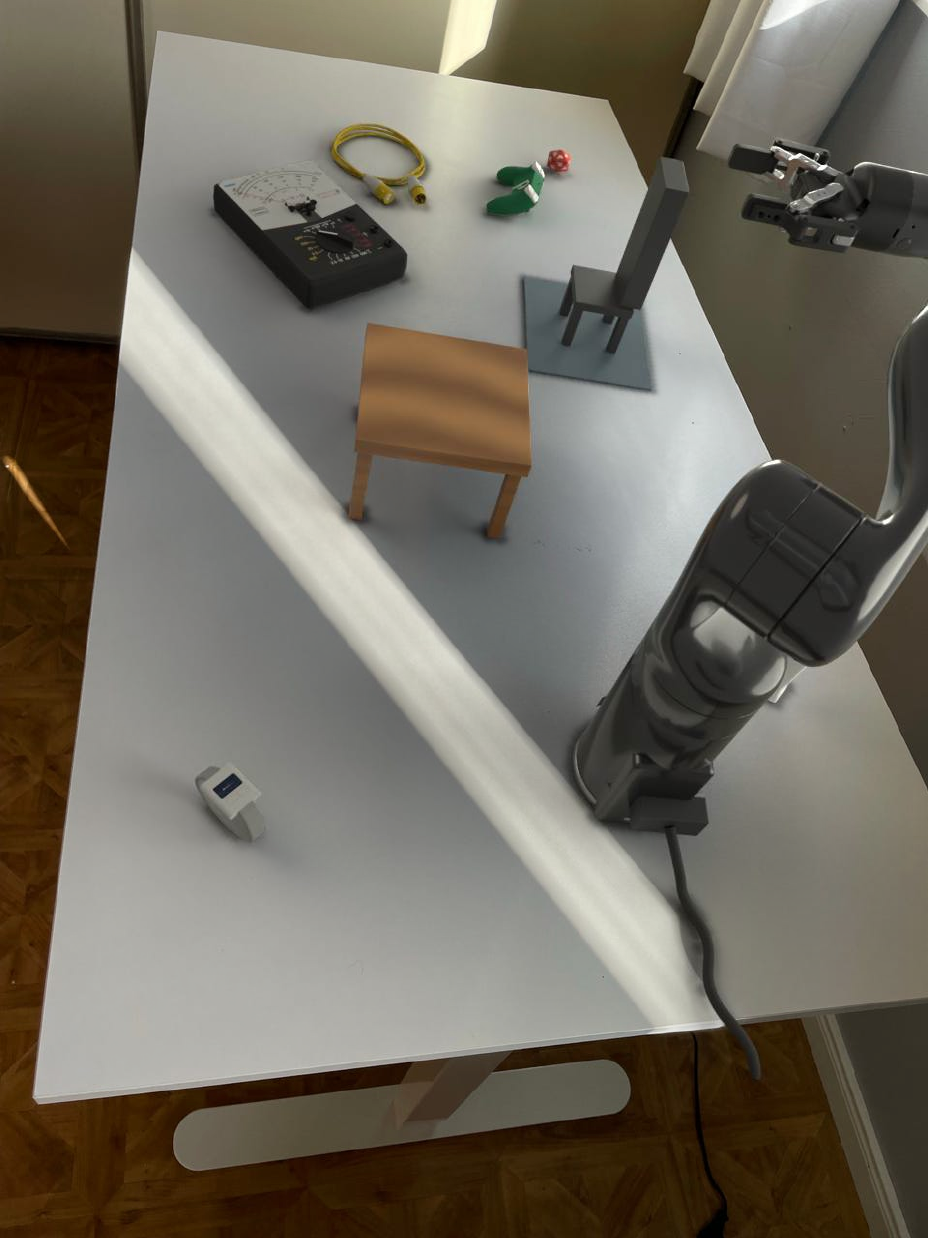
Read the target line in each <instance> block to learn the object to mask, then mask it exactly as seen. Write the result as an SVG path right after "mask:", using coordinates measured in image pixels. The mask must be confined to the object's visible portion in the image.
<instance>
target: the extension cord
mask: <svg viewBox="0 0 928 1238" xmlns="http://www.w3.org/2000/svg"><path fill="white" fill-rule="evenodd" d="M357 131H373V132H358V133H354V132H357ZM374 131H375V132H374ZM377 132H378V133H377ZM352 133H353V134H352ZM349 134H350V135H349ZM365 136H372V137H373V136H374V137H378V138H379V137H380V138H384V139H387V140H390V141H392V142H393V141H394V142H395V143H398V144H400V145H402V146H404V147H406V148H407V149H409V150H410V151H411V152H412V153H414V155H415V156H416V157H417V159H418V160H419V165H418V167H416V168H415V169H413V170H412V171H410V172H409V173H407V174H405V175H404V176H402V177H397V178H389V177H388V178H387V177H381V176H376V175H375V176H374V175H371V174H369V173H363V172H361V171H360V170H358V169H357V168H356V167H354V166H353V165H351V164H350V163H349V161H346V159H344V158H343V157H342V156H341V155H340V154H339V153H338V151H337V148H338V147H339V146H340V145H341V144H342V143H344V142H346V141H347V140H350V139H353V138H357V137H365ZM331 156H332V158H333V160H334V161H335V162H336V163H337V164H338V165H339V166H340V167H341V168H342V169H344V170H345V171H346V172H347V173H348V174H350V175H351V176H353V177H356V178H359V179H362V183H363V184H364V186H365V187H366V188H367V189H368V191H369V192H370V193H371V195H373V196H375V197H376V198H377V199H378V200H379V201H381V202H382V203H383V204H384V205H388V204H390V203H391V202H394V199H395V197H396V195H395V191H394V190H392V189H391V188H390V187H389V186H402V185H405V184H407V192H408V194H409V195H410V197H411V198H412V199H413V202H414V203H415V204H416V205H418V206H421V205H425V203H426V201H427V195H426V193H425V187H424V184H423V183H422V181H420V180H419V179H418V178H420V177H422V175H423V174H424V172H425V170H426V162H425V160H424V157H423V154H422V153H421V150H420V149H419V148H418V147H417V146H416V145H415V144H414V143H413V142H412V141H411V140H410V139H409V138H407V136H405V135H404V134H402V133H400V132H399V131H397V130H394V129H392V128H391V127H387V126H385V125H381V124H377V123H357V124H352V125H349V126H347V127H345V128H343V129H342V130H341V131H340V132H338V133H337V135H336V136H335V138H334V140H333V143H332V148H331Z"/></svg>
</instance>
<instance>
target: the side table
mask: <svg viewBox="0 0 928 1238" xmlns="http://www.w3.org/2000/svg"><path fill="white" fill-rule="evenodd" d="M362 357H363V358H362V366H361V367H362V368H361V377H360V378H361V379H360V388H359V389H360V390H359V397H358V409H357V418H356V429H355V438H354V449H353V452H354V453H356V454H357V456H356V464H355V469H354V476H353V480H352V481H353V482H352V488H351V494H350V495H351V496H350V501H349V507H348V515H347V517H348V519H350V520H351V519H352V520H359V521H360V520H362V518H363V511H364V506H365V500H366V495H367V489H368V484H369V478H370V472H371V467H372V461H373V456H377V457H383V458H384V457H385V458H390V459H398V460H404V461H405V460H406V461H413V462H420V463H425V464H431V465H433V464H434V465H439V466H445V467H446V466H447V467H454V468H459V469H467V470H473V471H480V472H486V473H487V472H488V473H494V474H501V475H504V477H503V478H502V479H503V480H502V483H501V485H500V488H499V491H498V493H497V494H498V495H497V498H496V500H495V503H494V505H493V506H494V507H493V510H492V512H491V515H490V519H489V521H488V524H487V528H486V536H487V538H490V539H491V538H492V539H500V538H501V536H502V533H503V530H504V528H505V525H506V522H507V519H508V516H509V515H510V514H509V513H510V511H511V508H512V506H513V502H514V499H515V497H516V494H517V492H518V488H519V486H520V483H521V480H522V478H528V477H529V475H530V473H531V470H532V467H533V463H532V461H533V460H532V442H531V441H532V440H531V439H532V438H531V416H530V413H531V411H530V392H529V391H530V390H529V387H530V386H529V371H528V364H527V348H522V347H517V346H511V345H505V344H499V343H493V342H486V341H481V340H474V339H470V338H469V339H468V338H463V337H458V336H451V335H445V334H439V333H432V332H428V331H421V330H414V329H409V328H403V327H398V326H389V325H384V324H379V323H371V322H367V324H366V331H365V337H364V348H363V356H362Z"/></svg>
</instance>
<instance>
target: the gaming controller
mask: <svg viewBox="0 0 928 1238" xmlns="http://www.w3.org/2000/svg"><path fill="white" fill-rule="evenodd" d="M496 180H497V182H498V183H500V184H502V185H504V186H508V187H512V190H511V193H509V194H504V195H499V196H497V197H494V198H492V199H491V200H489V201H488V202H486V205H485V207H486V213H487V214H489V215H494V216H514V215H520V214H527V213H529V212H530V210H531V209H533V208H534V207H535V206H536V205H537V204H538V202H539V201H540V200H539V199H540V198H539V197H540V195H541V193H542V189H543V185H544V182H545V172H544V169H543V168H542V166H541V165H540V164H539V163H538V161H534V163H533V164H531V165H529V166H517V165H509V166H504V167H503V168H502V167H501V168H500V169H499V170H498V171H497V173H496Z"/></svg>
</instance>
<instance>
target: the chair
mask: <svg viewBox="0 0 928 1238" xmlns="http://www.w3.org/2000/svg"><path fill="white" fill-rule="evenodd" d="M650 180H651V181H650V183H649V184H648V185H649V186H648V188H647V190H646V192H645V196H644V199H643V201H642V204H641V206H640V209H639V211H638V214H637V217H636V220H635V221H634V224H633V228H632V230H631V233H630V236H629V238H628V241H627V243H626V246H625V248H624V251H623V254H622V257H621V259H620V262H619V265H618V267H617V269H616V271H610V270H604V269H600V268H599V269H598V268H592V267H588V266H583V265H577V264H572V266H571V269H570V277H569V280H568V283H567V285H568V286H567V289H566V292H565V295H564V298H563V301H562V304H561V307H560V315H562V316H568V315H569V313H570V310H571V307H572V304H573V308H572V311H571V314H570V317H569V320H568V323H567V326H566V329H565V331H564V334H563V337H562V345H565V346H571V344H572V341H573V338H574V335H575V333H576V330H577V327H578V324H579V321H580V319H581V316H582V313H583V311H587V312H592V313H598V314H604V316H603V322H604V323H608V324H612V322H613V319H614V317H618V319H617V321H616V324H615V326H614V329H613V331H612V334H611V336H610V339H609V342H608V344H607V347H606V348H607V353H612V354H615V353H616V351H617V348H618V346H619V343H620V341H621V338H622V336H623V334H624V331H625V329H626V326H627V324H628V321H629V319H632V316H633V314H634V309H637V310H640V311H641V310H642V308H643V305H644V303H645V301H646V298H647V296H648V293H649V291H650V289H651V286H652V284H653V282H654V280H655V276H656V274H657V272H658V270H659V267H660V264H661V262H662V261H663V257H664V255H665V253H666V250H667V248H668V245H669V243H670V241H671V238H672V236H673V233H674V232H675V228H676V226H677V224H678V221H679V219H680V217H681V214H682V212H683V209H684V207H685V205H686V203H687V200H688V197H689V195H690V189H689V188H690V187H689V184H688V183H689V182H688V179H687V175H686V170H685V165H684V161H683V160H679V159H674V158H669V157H663V156H660V157H659V158H658V161H657V164H656V166H655V169H654V171H653V175H652V177H651V179H650Z"/></svg>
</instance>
